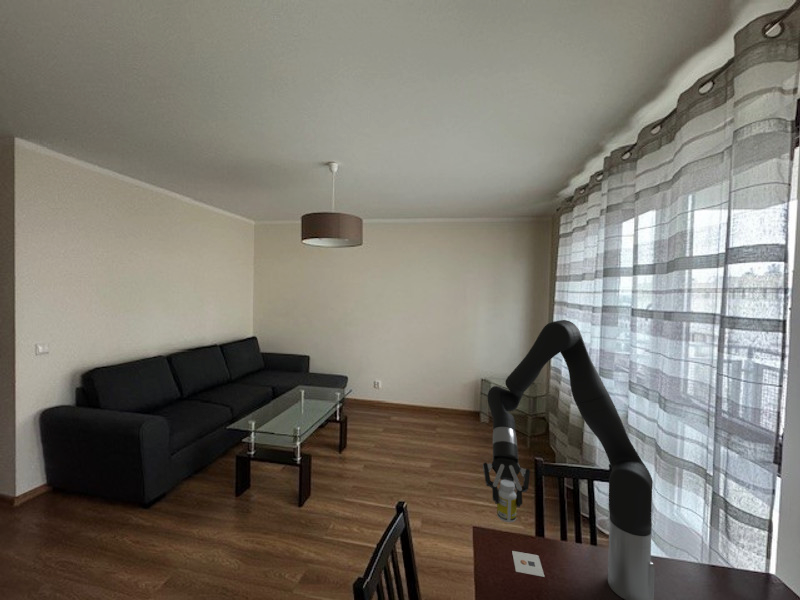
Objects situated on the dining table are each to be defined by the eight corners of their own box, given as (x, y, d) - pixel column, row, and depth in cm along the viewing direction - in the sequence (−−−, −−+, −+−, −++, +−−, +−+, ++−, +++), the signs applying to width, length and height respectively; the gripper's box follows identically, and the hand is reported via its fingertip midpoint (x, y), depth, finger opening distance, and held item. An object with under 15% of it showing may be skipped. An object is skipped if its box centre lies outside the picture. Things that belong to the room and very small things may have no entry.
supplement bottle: (513, 512, 97) (515, 479, 98) (518, 524, 92) (519, 489, 92) (495, 510, 98) (496, 477, 98) (498, 522, 93) (499, 487, 93)
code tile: (538, 556, 99) (538, 555, 99) (544, 577, 91) (544, 576, 91) (511, 551, 100) (511, 550, 100) (516, 572, 92) (516, 571, 92)
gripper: (482, 437, 104) (482, 496, 92) (530, 443, 101) (536, 505, 89) (481, 447, 109) (481, 504, 97) (526, 453, 106) (532, 512, 94)
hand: (507, 504), depth 93 cm, fingers closed on supplement bottle, 5 cm apart
